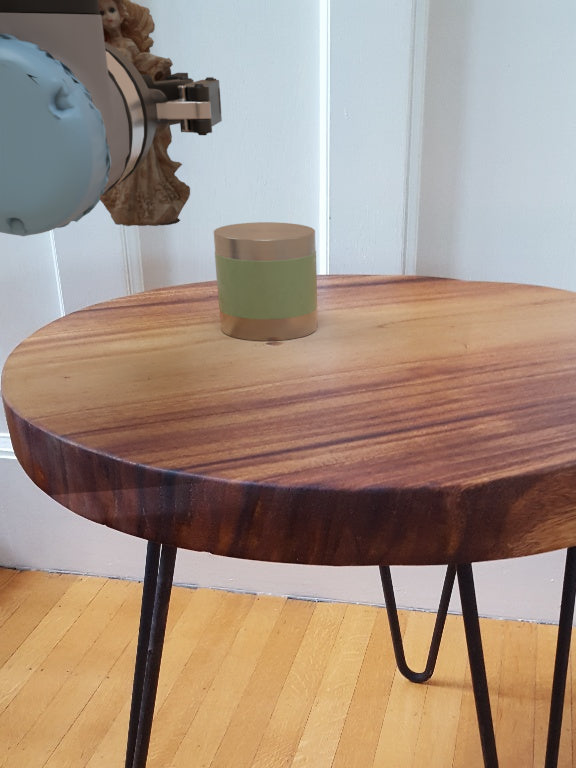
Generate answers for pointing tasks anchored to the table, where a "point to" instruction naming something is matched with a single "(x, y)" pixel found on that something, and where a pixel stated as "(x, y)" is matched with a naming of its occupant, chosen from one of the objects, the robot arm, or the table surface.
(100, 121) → the robot arm
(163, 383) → the table surface
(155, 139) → the figurine
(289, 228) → the tin can
